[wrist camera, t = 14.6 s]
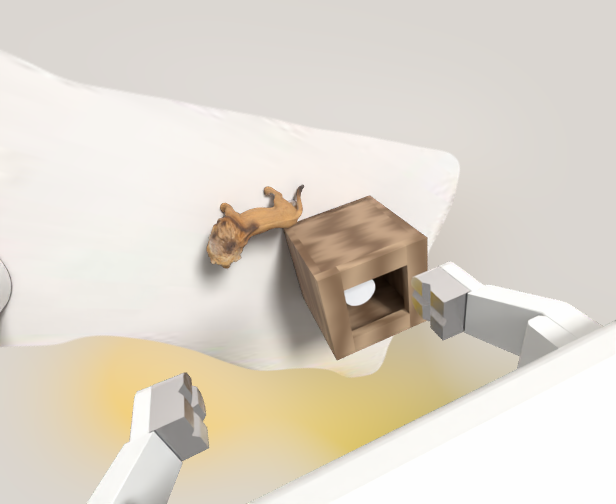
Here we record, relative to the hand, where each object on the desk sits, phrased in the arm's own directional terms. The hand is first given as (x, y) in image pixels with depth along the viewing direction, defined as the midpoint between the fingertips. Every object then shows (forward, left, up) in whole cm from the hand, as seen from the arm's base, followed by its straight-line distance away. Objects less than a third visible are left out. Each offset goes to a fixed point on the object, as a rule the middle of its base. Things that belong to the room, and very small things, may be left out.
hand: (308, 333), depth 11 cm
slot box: (+12, -22, -34) cm, 42 cm away
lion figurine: (+1, -11, -34) cm, 36 cm away
